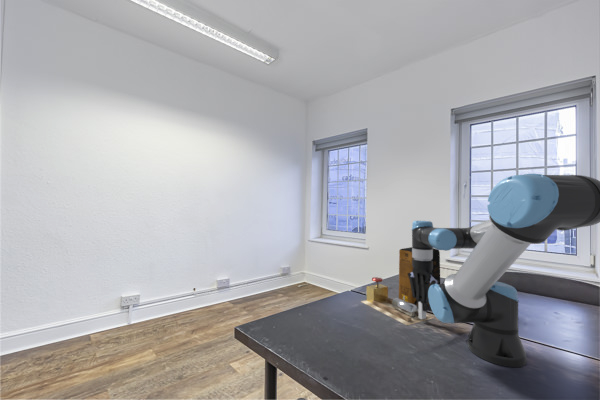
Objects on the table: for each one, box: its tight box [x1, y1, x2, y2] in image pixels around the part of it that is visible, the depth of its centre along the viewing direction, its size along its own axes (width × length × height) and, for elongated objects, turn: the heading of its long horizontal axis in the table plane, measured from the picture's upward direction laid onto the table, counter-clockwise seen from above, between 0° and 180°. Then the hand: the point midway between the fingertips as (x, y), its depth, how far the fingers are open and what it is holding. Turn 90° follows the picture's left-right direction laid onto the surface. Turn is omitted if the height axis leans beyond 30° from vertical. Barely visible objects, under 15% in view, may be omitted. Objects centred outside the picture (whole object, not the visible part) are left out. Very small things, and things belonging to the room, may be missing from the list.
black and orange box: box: [398, 246, 441, 306], centre depth 125 cm, size 11×19×28 cm, turn 112°
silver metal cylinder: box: [392, 297, 419, 317], centre depth 111 cm, size 10×5×5 cm, turn 26°
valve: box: [365, 276, 389, 303], centre depth 126 cm, size 8×9×11 cm
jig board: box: [360, 297, 435, 326], centre depth 115 cm, size 28×16×3 cm, turn 26°
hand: (422, 317), depth 102 cm, fingers closed
